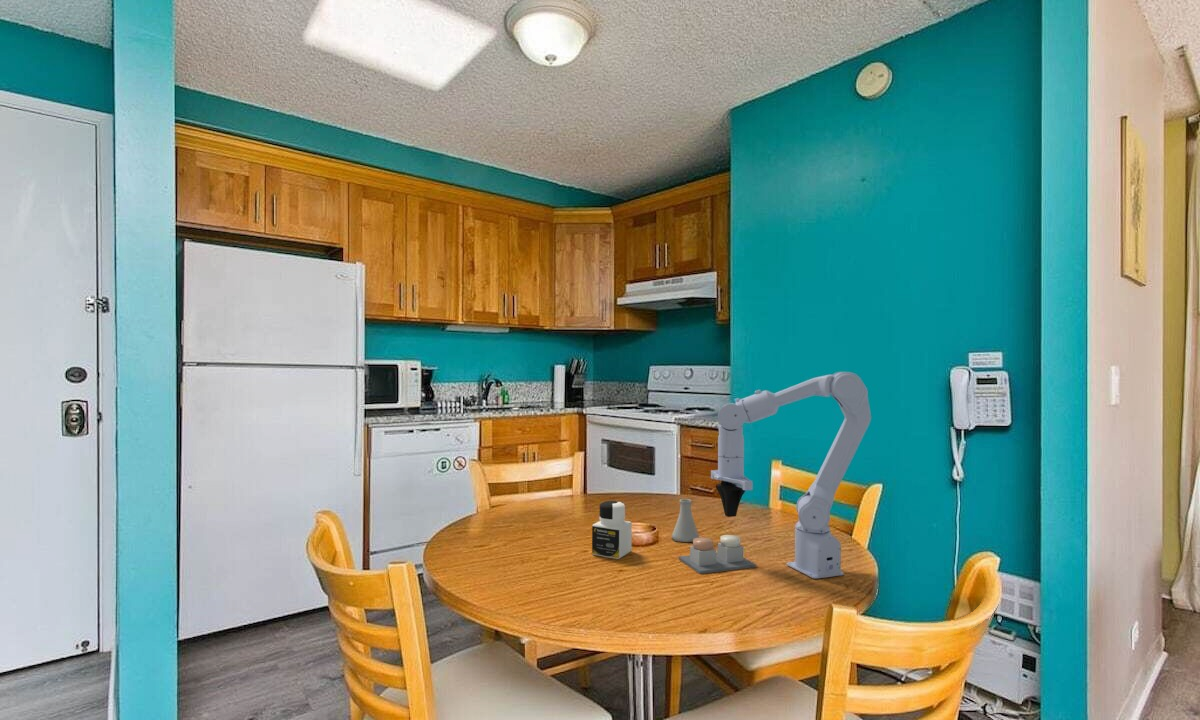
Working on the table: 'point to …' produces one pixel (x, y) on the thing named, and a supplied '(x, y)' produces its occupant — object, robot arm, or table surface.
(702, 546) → the terracotta knob
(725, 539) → the cream knob
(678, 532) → the flask
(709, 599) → the table surface
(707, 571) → the knob mount
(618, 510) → the medicine bottle
